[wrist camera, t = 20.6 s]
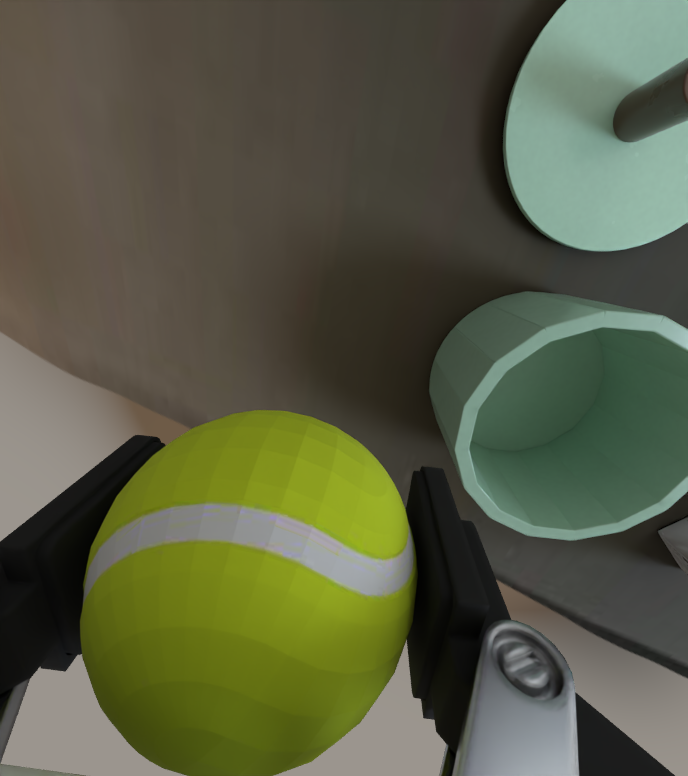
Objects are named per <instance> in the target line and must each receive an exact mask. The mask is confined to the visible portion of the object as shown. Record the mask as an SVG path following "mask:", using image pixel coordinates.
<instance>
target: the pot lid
mask: <svg viewBox="0 0 688 776" xmlns="http://www.w3.org/2000/svg"><path fill="white" fill-rule="evenodd" d="M503 156H504V166H505V171H506V176H507V180H508V184H509V187H510V189H511V192H512V195H513V197H514V199H515V201H516V203H517V205H518V207H519V208H520V210H521V212H522V213H523V214H524V216H525V217H526V218H527V220H528V221H529V222H530V223H531V224H532V225H533V226H534V227H535V228H536V229H537V230H538V231H539V232H541V233H542V234H544V235H545V236H547V237H548V238H549V239H551V240H553V241H555V242H557V243H559V244H562V245H564V246H567V247H571V248H574V249H579V250H585V251H616V250H624V249H628V248H632V247H636V246H640V245H643V244H646V243H648V242H651V241H654V240H657V239H659V238H661V237H663V236H665V235H667V234H669V233H671V232H673V231H674V230H676V229H677V228H679V227H681V226H682V225H684V224H685V223H687V222H688V0H566V1H565V2H564V3H563V4H562V6H561V7H560V8H559V9H558V10H557V11H556V12H555V14H554V15H553V16H552V18H551V19H550V20H549V22H548V23H547V24H546V26H545V27H544V28H543V29H542V31H541V32H540V33H539V35H538V37H537V38H536V40H535V42H534V43H533V45H532V47H531V48H530V50H529V51H528V53H527V55H526V57H525V59H524V62H523V64H522V66H521V68H520V70H519V72H518V75H517V77H516V80H515V83H514V86H513V88H512V91H511V95H510V98H509V102H508V106H507V110H506V116H505V123H504V130H503Z"/></svg>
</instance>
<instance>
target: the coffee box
mask: <svg viewBox="0 0 688 776" xmlns="http://www.w3.org/2000/svg"><path fill="white" fill-rule="evenodd" d="M658 533H659V535H660V537H661V538H662V540H663V541H664V543H665V545H666V546H667V548H668V549H669V551H670V552H671V554H672V556H673V557H674V559H675V560H676V562H677V563H678V565H679V566H680V568H681V569H682V570H683V571H684V572H685V573H686V574H687V575H688V517H687V518H685V519H683V520H680V521H678V522H676V523H674V524H672V525H670V526H667V527H665V528H663V529H661V530H659V531H658Z"/></svg>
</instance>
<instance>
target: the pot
mask: <svg viewBox="0 0 688 776" xmlns="http://www.w3.org/2000/svg"><path fill="white" fill-rule="evenodd" d="M429 393H430V397H431V402H432V405H433V409H434V412H435V416H436V420H437V422H438V425H439V427H440V430H441V432H442V435H443V437H444V440H445V442H446V445H447V447H448V450H449V452H450V455H451V457H452V460H453V462H454V465H455V467H456V470H457V472H458V475H459V477H460V480H461V482H462V485H463V487H464V489H465V490H466V491H467V492H468V494H469V495H470V496H471V497H472V498H473V499H474V500H475V502H476V503H477V504H478V505H479V506H480V507H481V508H482V510H483V511H484V512H485V513H486V514H487V515H488V516H489V517H490V518H491V519H493V520H495V521H497V522H499V523H502V524H504V525H506V526H508V527H510V528H512V529H514V530H516V531H518V532H520V533H523V534H525V535H528V536H534V537H543V538H552V539H562V540H571V541H572V540H579V539H584V538H590V537H595V536H601V535H606V534H612V533H617V532H620V531H621V532H622V531H624V530H626V529H629V528H631V527H633V526H635V525H637V524H639V523H641V522H643V521H645V520H647V519H649V518H651V517H653V516H655V515H658V514H660V513H662V512H664V511H666V510H667V509H669V508H670V507H671V506H672V505H673V504H674V503H675V502H677V501H678V500H679V499H680V498H681V497H682V496H683V495H684V494H685V493H687V492H688V329H686V328H684V327H683V326H681V325H679V324H678V323H676V322H674V321H672V320H671V319H669V318H667V317H666V316H662V315H659V314H654V313H650V312H645V311H640V310H635V309H631V308H626V307H621V306H616V305H612V304H607V303H602V302H597V301H593V300H588V299H583V298H578V297H574V296H569V295H564V294H554V293H545V292H529V291H526V292H521V293H515V294H511V295H507V296H503V297H500V298H497V299H495V300H492V301H490V302H488V303H486V304H484V305H482V306H480V307H478V308H477V309H475V310H474V311H472V312H471V313H469V314H468V315H467V316H466V317H464V318H463V319H462V320H461V321H460V322H459V323H458V324H457V325H456V326H455V327H454V328H453V329H452V330H451V331H450V333H449V334H448V335H447V337H446V338H445V339H444V341H443V342H442V344H441V346H440V348H439V350H438V352H437V354H436V357H435V359H434V362H433V365H432V370H431V375H430V387H429Z"/></svg>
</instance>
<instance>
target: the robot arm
mask: <svg viewBox="0 0 688 776" xmlns="http://www.w3.org/2000/svg"><path fill="white" fill-rule="evenodd" d="M165 446H166V445H165V444H164V443H161V441H160V439H159V438H158V437H152V436H143V435H135V436H133V437H132V438H131V439H129V440H128V441H127V442H126V443H124V444H123V445H122V446H120V447H119V448H118V449H117V450H115V451H114V452H113V453H112V454H111V455H109V456H108V457H107V458H105V459H104V460H103V461H102V462H100V463H99V464H98V465H97V466H95V467H94V468H93V469H92V470H90V471H89V472H88V473H86V474H85V475H84V476H83V477H81V478H80V479H79V480H78V481H76V482H75V483H74V484H73V485H71V486H70V487H69V488H68V489H66V490H65V491H64V492H62V493H61V494H60V495H59V496H57V497H56V498H55V499H54V500H52V501H51V502H50V503H49V504H47V505H46V506H45V507H44V508H42V509H41V510H40V511H39V512H37V513H36V514H35V515H34V516H32V517H31V518H30V519H28V520H27V521H26V522H25V523H23V524H22V525H21V526H19V527H18V528H17V529H16V530H14V531H13V532H12V533H11V534H9V535H8V536H7V537H6V538H4V539H3V540H2V541H1V542H0V763H1V760H2V757H3V754H4V751H5V748H6V745H7V743H8V740H9V737H10V734H11V731H12V728H13V726H14V723H15V720H16V717H17V715H18V712H19V709H20V706H21V703H22V700H23V697H24V695H25V692H26V689H27V686H28V683H29V680H30V678H31V677H32V676H33V674H34V673H35V672H36V671H37V669H38V668H39V667H41V668H43V669H51V670H58V671H66V670H67V669H68V667H69V666H70V664H71V663H72V662H73V660H74V659H75V657H76V656H77V655H80V654H82V648H81V637H80V618H81V613H82V608H83V597H84V588H83V583H84V578H85V573H86V568H87V563H88V558H89V554H90V549H91V546H92V544H93V542H94V540H95V538H96V536H97V534H98V531H99V529H100V527H101V525H102V523H103V521H104V519H105V517H106V515H107V513H108V512H109V510H110V508H111V506H112V504H113V502H114V500H115V498H116V497H117V495H118V494H119V493H120V492H121V490H122V489H123V488H124V487H125V486H126V484H127V483H128V482H129V481H130V479H131V478H132V477H133V476H134V475H135V473H136V472H137V471H138V470H139V469H140V468H141V467H142V466H143V465H144V464H145V463H146V462H147V461H148V460H149V459H150V458H151V457H152V456H153V455H154V454H155V453H157V452H158V451H160V450H161V449H162V448H164V447H165ZM406 514H407V519H408V523H409V526H410V528H411V531H412V536H413V540H414V544H415V550H416V557H417V570H418V578H417V588H416V598H415V606H414V615H413V622H412V625H411V628H410V631H409V634H408V637H407V646H408V655H409V667H410V676H411V686H412V694H413V697H414V698H420V699H421V701H422V710H423V718H426V719H434V720H435V726H436V732H437V733H438V734H439V735H440V737H441V738H442V739H443V740H444V741H445V743H446V748H445V753H444V757H443V762H442V766H441V770H440V775H439V776H675V775H674V774H672V773H671V772H670V771H669V770H668V769H666V768H665V767H664V766H663V765H662V764H660V763H659V762H658V761H657V760H656V759H654V758H653V757H652V756H651V755H650V754H649V753H647V752H646V751H645V750H644V749H643V748H641V747H640V746H639V745H638V744H637V743H635V742H634V741H633V740H632V739H631V738H629V737H628V736H627V735H626V734H625V733H623V732H622V731H621V730H620V729H619V728H617V727H616V726H615V725H614V724H613V723H611V722H610V721H609V720H608V719H607V718H605V717H604V716H603V715H602V714H601V713H599V712H598V711H597V710H596V709H595V708H593V707H592V706H591V705H590V704H588V703H587V702H586V701H585V700H584V699H583V698H581V697H580V696H579V695H578V694H577V693H576V692H575V685H574V680H573V676H572V672H571V670H570V668H569V666H568V664H567V662H566V660H565V658H564V657H563V655H562V654H561V653H560V651H559V650H558V649H557V648H556V646H555V645H554V644H553V643H552V642H551V641H550V640H548V639H547V638H546V637H545V636H544V635H543V634H542V633H540V632H539V631H537V630H535V629H534V628H532V627H531V626H529V625H526V624H524V623H521V622H518V621H514V620H511V618H510V615H509V613H508V610H507V607H506V605H505V602H504V600H503V597H502V595H501V592H500V590H499V587H498V584H497V582H496V579H495V576H494V574H493V571H492V569H491V566H490V563H489V561H488V558H487V556H486V553H485V550H484V548H483V545H482V543H481V540H480V538H479V535H478V532H477V530H476V527H475V526H474V524H473V523H472V522H471V521H464V520H460V517H459V514H458V511H457V508H456V505H455V502H454V499H453V496H452V493H451V490H450V487H449V484H448V482H447V479H446V476H445V473H444V470H443V469H442V468H433V467H424V466H422V467H421V469H420V471H414V472H413V476H412V481H411V486H410V491H409V496H408V502H407V507H406ZM0 776H84V775H77V774H70V773H62V772H55V771H48V770H41V769H33V768H25V767H19V766H11V765H4V764H0Z"/></svg>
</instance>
